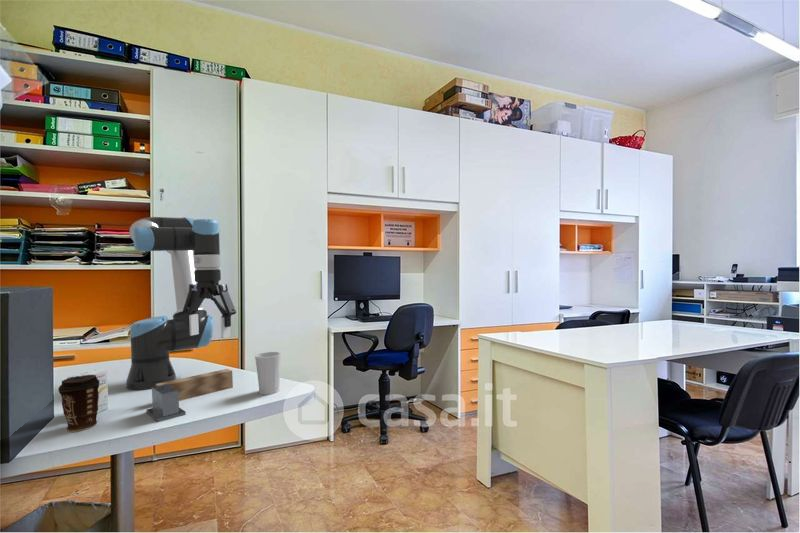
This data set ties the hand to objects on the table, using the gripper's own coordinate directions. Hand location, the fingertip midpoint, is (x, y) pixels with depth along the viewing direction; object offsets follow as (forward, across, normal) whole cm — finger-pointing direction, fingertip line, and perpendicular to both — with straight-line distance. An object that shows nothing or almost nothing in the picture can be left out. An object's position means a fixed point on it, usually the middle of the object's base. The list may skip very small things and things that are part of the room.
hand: (209, 336), depth 129 cm
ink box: (+20, -23, -23) cm, 38 cm away
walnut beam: (+20, -6, 0) cm, 21 cm away
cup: (+19, +14, +10) cm, 26 cm away
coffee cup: (+19, -14, -30) cm, 38 cm away
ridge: (+19, -1, -15) cm, 24 cm away
